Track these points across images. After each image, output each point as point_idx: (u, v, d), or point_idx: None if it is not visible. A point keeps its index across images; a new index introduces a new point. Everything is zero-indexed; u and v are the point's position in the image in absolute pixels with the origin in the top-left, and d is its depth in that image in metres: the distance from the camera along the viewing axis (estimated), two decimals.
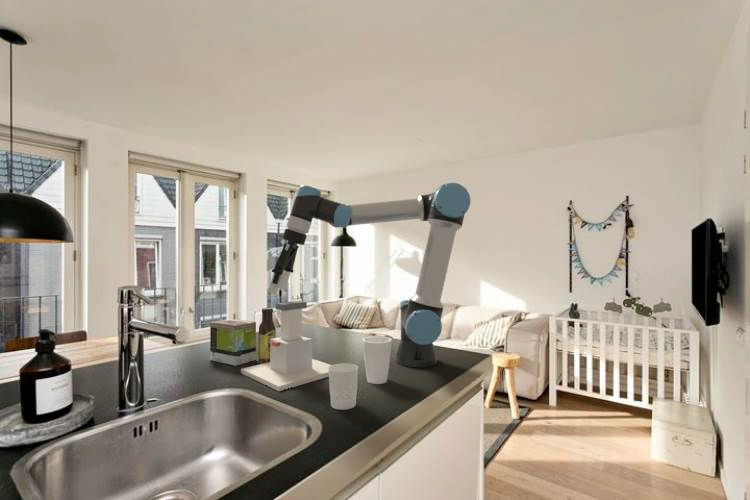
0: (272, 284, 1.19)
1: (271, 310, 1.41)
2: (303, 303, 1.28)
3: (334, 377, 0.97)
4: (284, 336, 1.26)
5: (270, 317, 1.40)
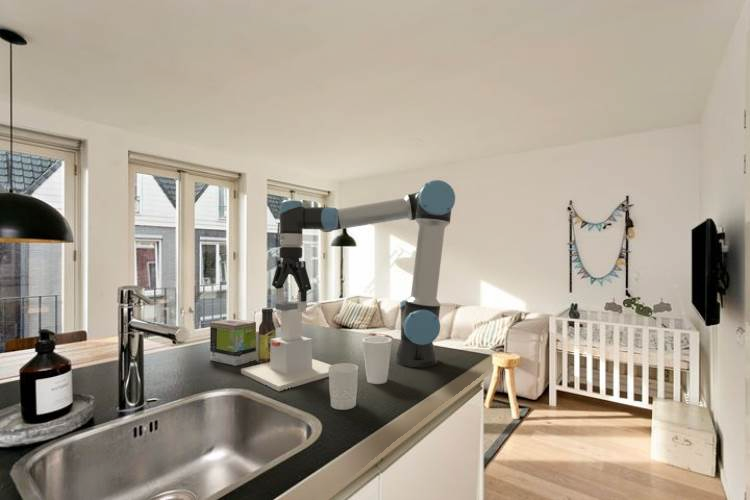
0: (301, 303, 1.22)
1: (271, 310, 1.41)
2: None
3: (334, 377, 0.97)
4: (284, 336, 1.26)
5: (270, 317, 1.40)
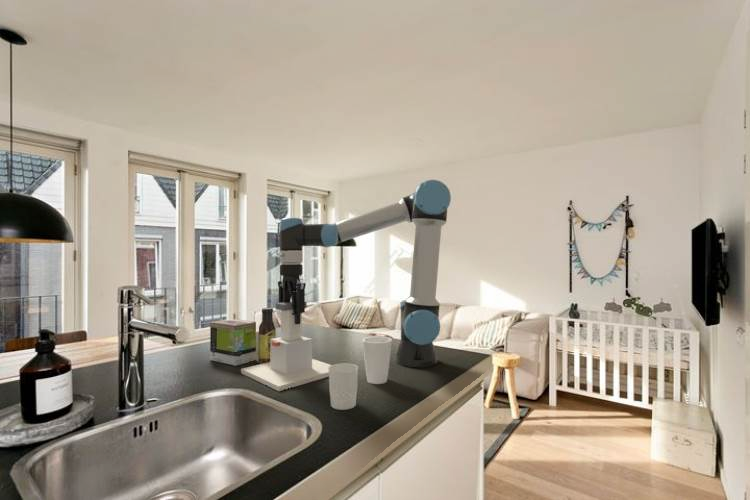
0: (295, 325, 1.25)
1: (271, 310, 1.41)
2: None
3: (334, 377, 0.97)
4: (284, 336, 1.26)
5: (270, 317, 1.40)
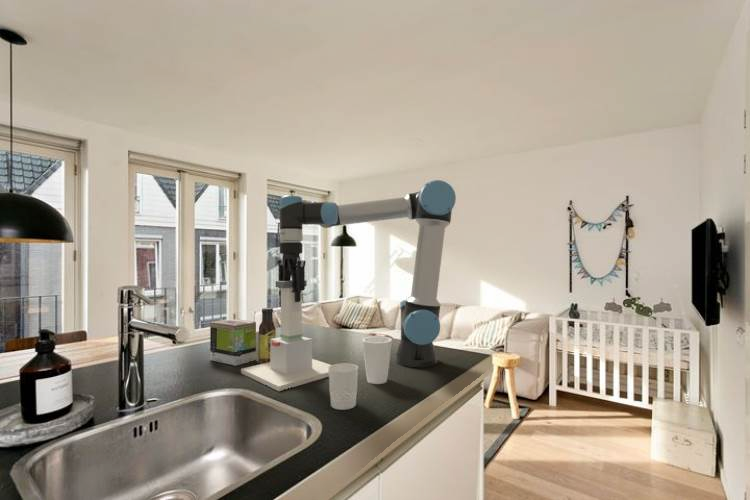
0: (295, 303, 1.25)
1: (271, 310, 1.41)
2: None
3: (334, 377, 0.97)
4: (284, 314, 1.26)
5: (270, 317, 1.40)
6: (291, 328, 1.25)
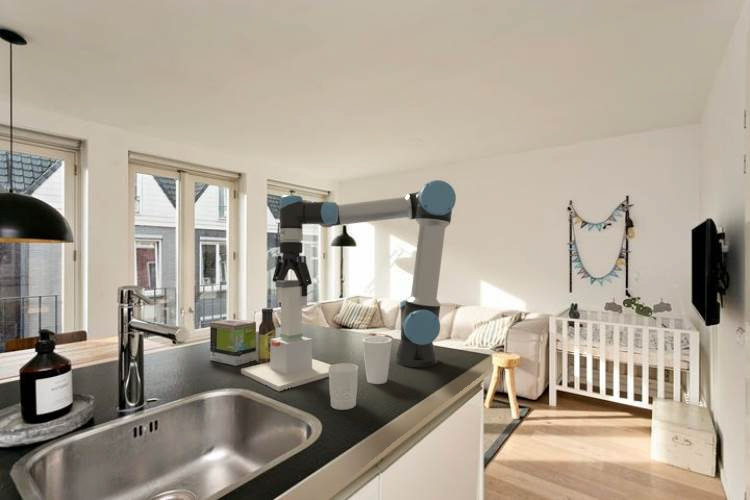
0: (301, 297, 1.22)
1: (271, 310, 1.41)
2: None
3: (334, 377, 0.97)
4: (284, 314, 1.26)
5: (270, 317, 1.40)
6: (291, 327, 1.25)
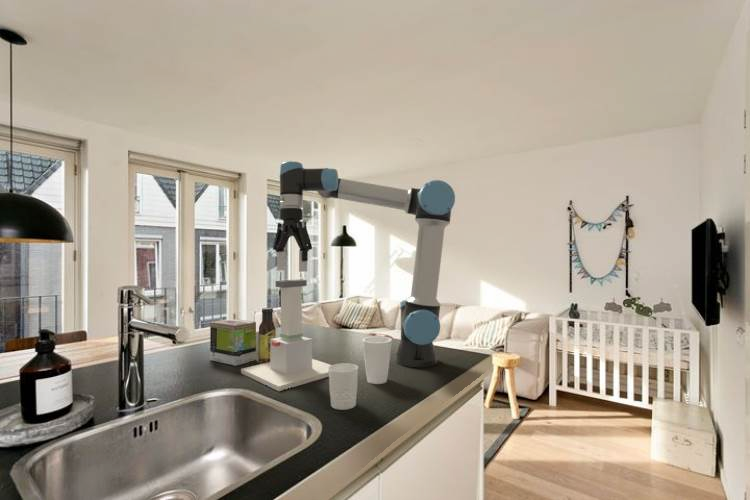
0: (302, 263, 1.22)
1: (271, 310, 1.41)
2: (303, 281, 1.28)
3: (334, 377, 0.97)
4: (284, 314, 1.26)
5: (270, 317, 1.40)
6: (291, 327, 1.25)
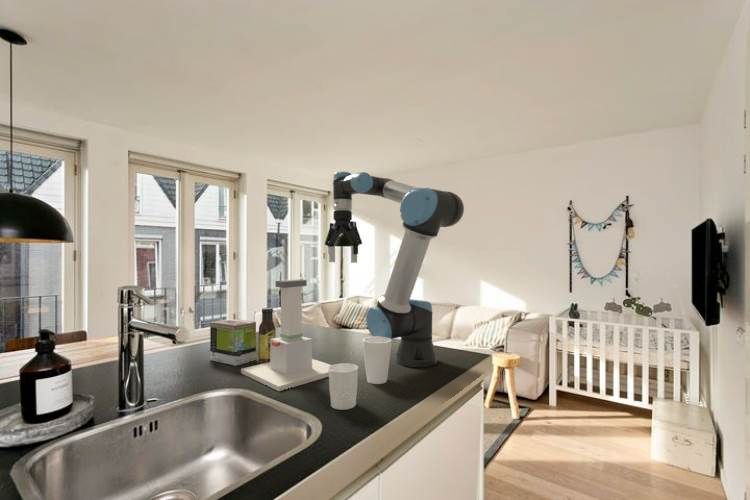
0: (353, 255, 1.49)
1: (271, 310, 1.41)
2: (303, 281, 1.28)
3: (334, 377, 0.97)
4: (284, 314, 1.26)
5: (270, 317, 1.40)
6: (291, 327, 1.25)
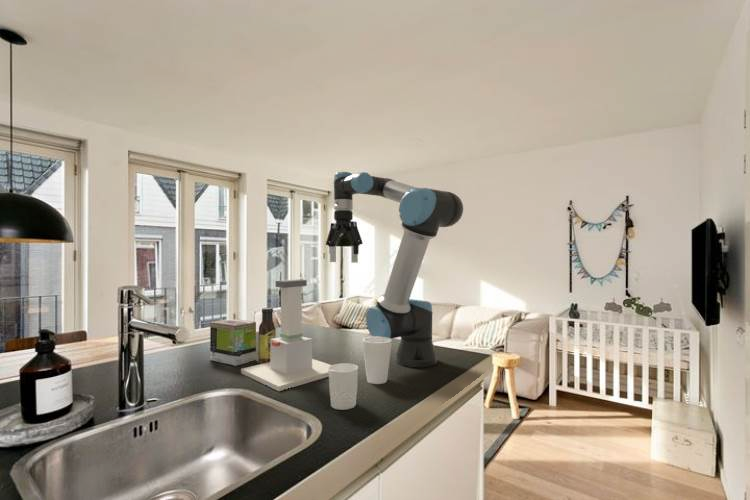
0: (354, 255, 1.49)
1: (271, 310, 1.41)
2: (303, 281, 1.28)
3: (334, 377, 0.97)
4: (284, 314, 1.26)
5: (270, 317, 1.40)
6: (291, 327, 1.25)
